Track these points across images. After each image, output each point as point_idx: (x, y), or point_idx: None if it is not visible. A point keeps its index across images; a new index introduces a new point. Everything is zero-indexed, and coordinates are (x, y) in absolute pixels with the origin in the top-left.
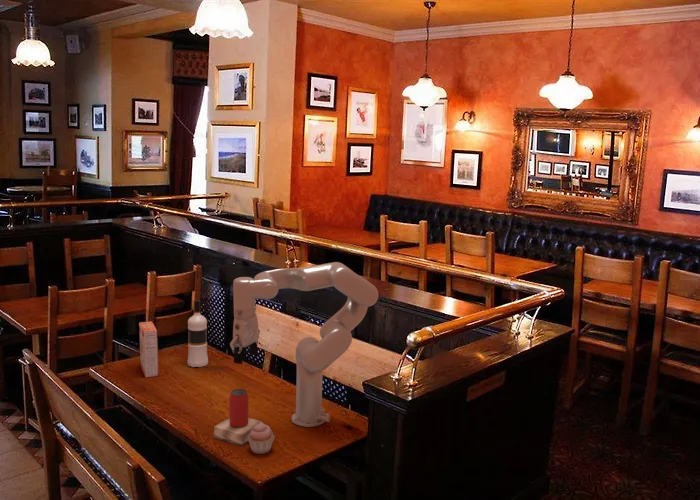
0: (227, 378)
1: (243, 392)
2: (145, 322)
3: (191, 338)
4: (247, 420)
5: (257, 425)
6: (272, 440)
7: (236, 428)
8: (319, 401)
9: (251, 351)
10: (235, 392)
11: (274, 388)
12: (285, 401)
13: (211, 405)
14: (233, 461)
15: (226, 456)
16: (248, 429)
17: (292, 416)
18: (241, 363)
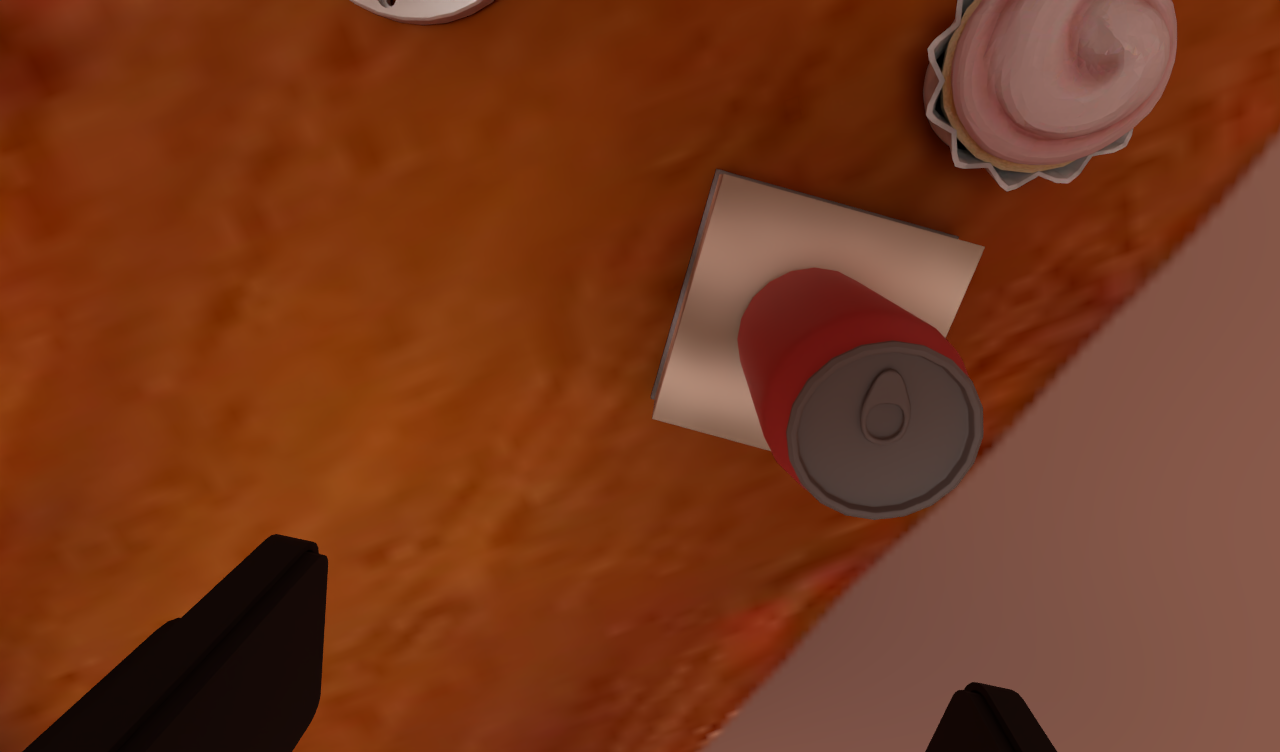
0: (72, 651)
1: (882, 382)
2: None
3: None
4: (825, 271)
5: (1147, 75)
6: None
7: None
8: None
9: (279, 723)
10: (880, 470)
11: (39, 332)
12: (192, 180)
13: (455, 608)
14: (1174, 214)
15: (1107, 284)
16: (885, 232)
17: (447, 8)
18: (1017, 694)
